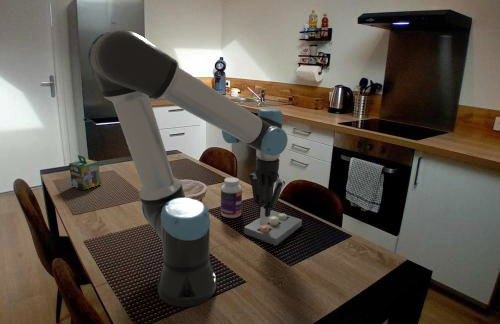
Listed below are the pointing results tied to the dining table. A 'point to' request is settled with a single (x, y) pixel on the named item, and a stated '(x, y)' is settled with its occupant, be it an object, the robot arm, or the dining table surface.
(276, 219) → the cream button
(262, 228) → the terracotta button
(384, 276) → the dining table surface
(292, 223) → the panel
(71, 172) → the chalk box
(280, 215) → the sage button
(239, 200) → the pill bottle
